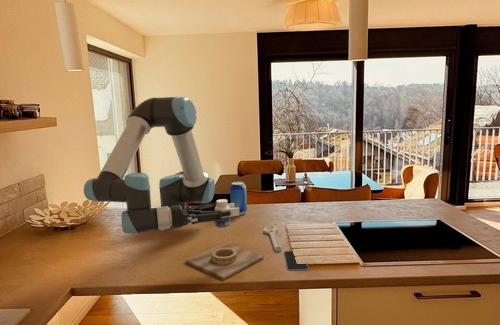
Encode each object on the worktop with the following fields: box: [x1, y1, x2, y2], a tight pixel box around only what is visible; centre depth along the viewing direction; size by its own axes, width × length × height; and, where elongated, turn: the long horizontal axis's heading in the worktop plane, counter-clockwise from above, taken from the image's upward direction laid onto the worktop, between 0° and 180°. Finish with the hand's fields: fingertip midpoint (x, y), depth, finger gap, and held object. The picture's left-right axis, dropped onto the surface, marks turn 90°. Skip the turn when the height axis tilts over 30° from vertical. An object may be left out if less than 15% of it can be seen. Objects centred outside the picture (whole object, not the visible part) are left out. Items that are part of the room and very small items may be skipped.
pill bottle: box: [214, 198, 231, 230], centre depth 122 cm, size 5×5×10 cm
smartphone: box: [283, 250, 309, 272], centre depth 123 cm, size 7×1×15 cm
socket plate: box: [185, 242, 264, 281], centre depth 125 cm, size 20×20×3 cm
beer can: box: [229, 181, 248, 216], centre depth 179 cm, size 8×8×16 cm
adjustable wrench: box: [263, 225, 282, 253], centre depth 143 cm, size 25×6×2 cm, turn 0°
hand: (236, 209), depth 123 cm, fingers closed on pill bottle, 5 cm apart
